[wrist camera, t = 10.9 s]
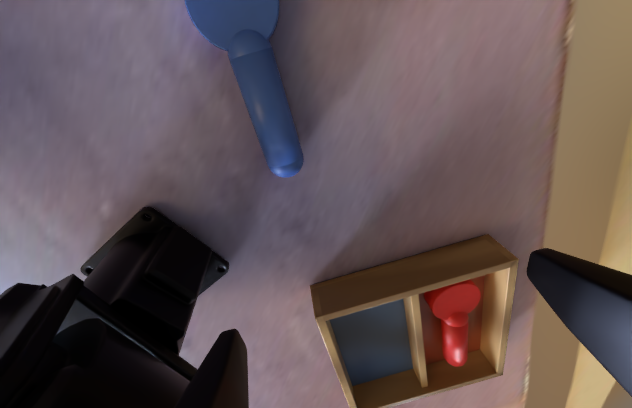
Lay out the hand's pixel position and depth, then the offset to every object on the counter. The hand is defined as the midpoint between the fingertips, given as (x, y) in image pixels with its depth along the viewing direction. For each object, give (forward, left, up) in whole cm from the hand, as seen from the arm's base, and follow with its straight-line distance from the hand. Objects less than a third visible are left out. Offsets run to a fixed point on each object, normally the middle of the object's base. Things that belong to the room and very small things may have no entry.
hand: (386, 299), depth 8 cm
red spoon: (0, -17, -9) cm, 19 cm away
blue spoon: (+1, +6, -10) cm, 12 cm away
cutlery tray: (-3, -15, -10) cm, 18 cm away
